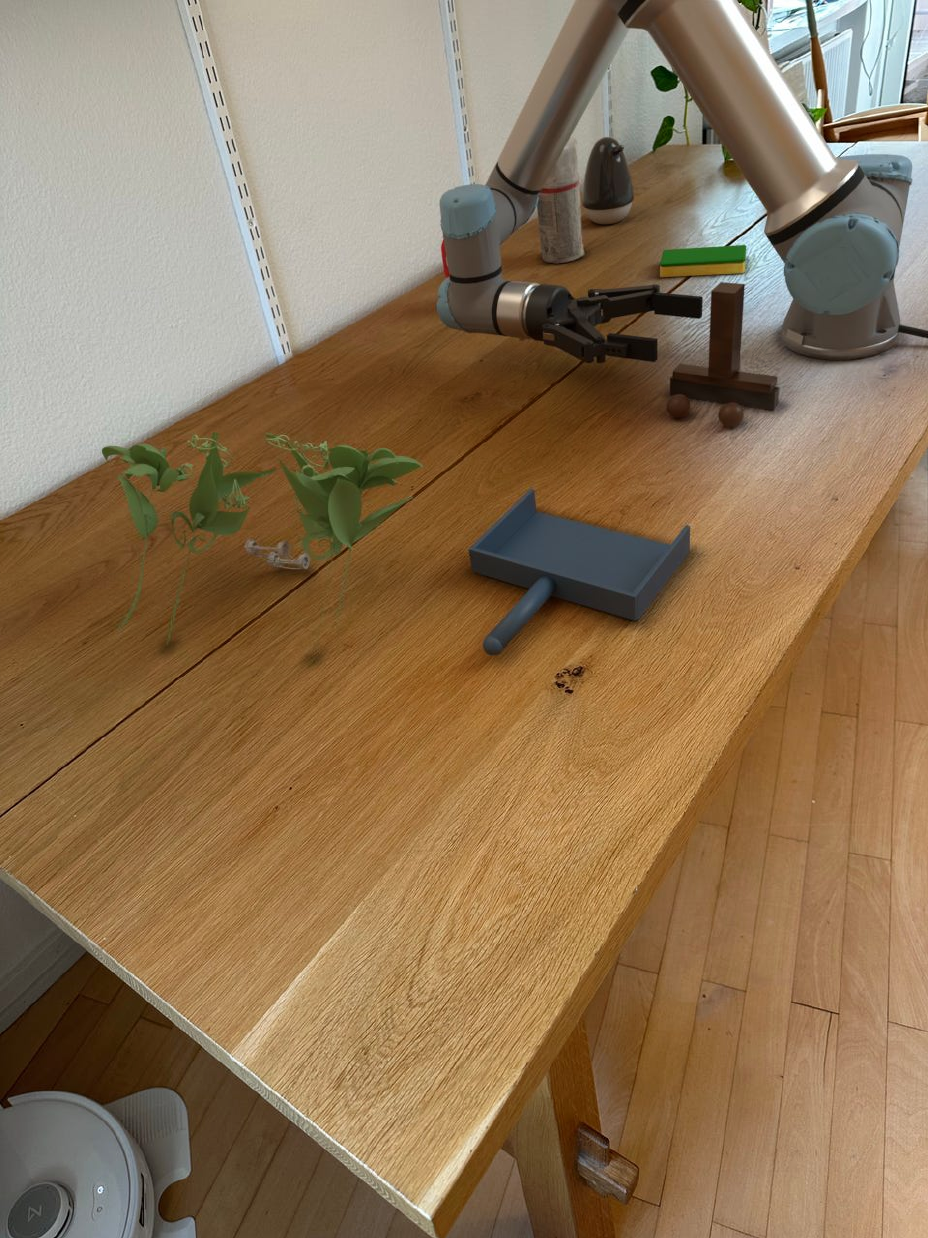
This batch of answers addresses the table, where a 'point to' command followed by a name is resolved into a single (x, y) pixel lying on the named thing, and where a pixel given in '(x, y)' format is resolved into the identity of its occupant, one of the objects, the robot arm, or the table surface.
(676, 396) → the crumb
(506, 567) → the dustpan
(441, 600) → the table surface
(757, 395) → the wiper
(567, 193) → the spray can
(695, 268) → the dish sponge
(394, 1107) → the table surface
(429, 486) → the table surface
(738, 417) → the crumb
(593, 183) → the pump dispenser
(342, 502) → the plant cuttings
